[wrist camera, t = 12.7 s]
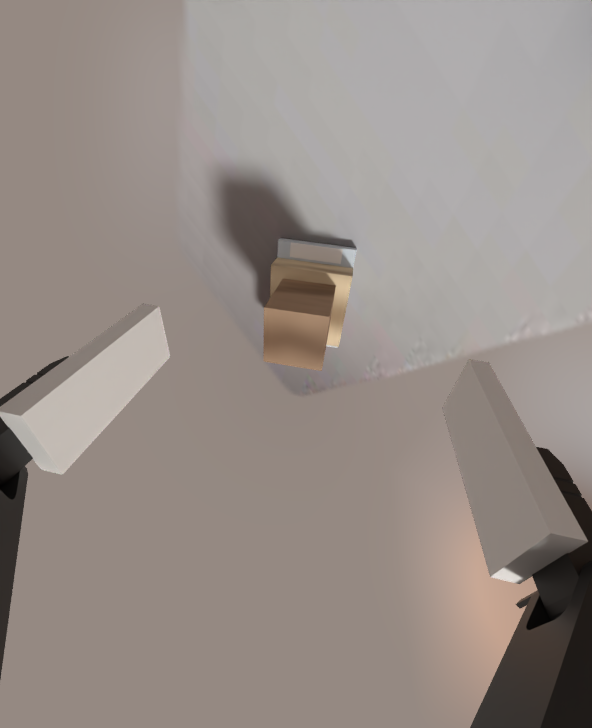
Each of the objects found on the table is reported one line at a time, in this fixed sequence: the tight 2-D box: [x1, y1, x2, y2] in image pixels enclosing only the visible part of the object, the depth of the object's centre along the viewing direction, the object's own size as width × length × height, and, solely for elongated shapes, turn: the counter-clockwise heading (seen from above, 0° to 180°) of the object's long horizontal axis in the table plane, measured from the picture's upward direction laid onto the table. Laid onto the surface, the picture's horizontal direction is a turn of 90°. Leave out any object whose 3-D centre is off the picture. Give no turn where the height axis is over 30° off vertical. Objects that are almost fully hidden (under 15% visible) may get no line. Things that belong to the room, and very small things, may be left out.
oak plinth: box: [270, 258, 353, 347], centre depth 36 cm, size 9×9×3 cm
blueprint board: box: [277, 238, 357, 348], centre depth 38 cm, size 13×9×1 cm
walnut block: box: [264, 279, 336, 371], centre depth 32 cm, size 6×6×8 cm
